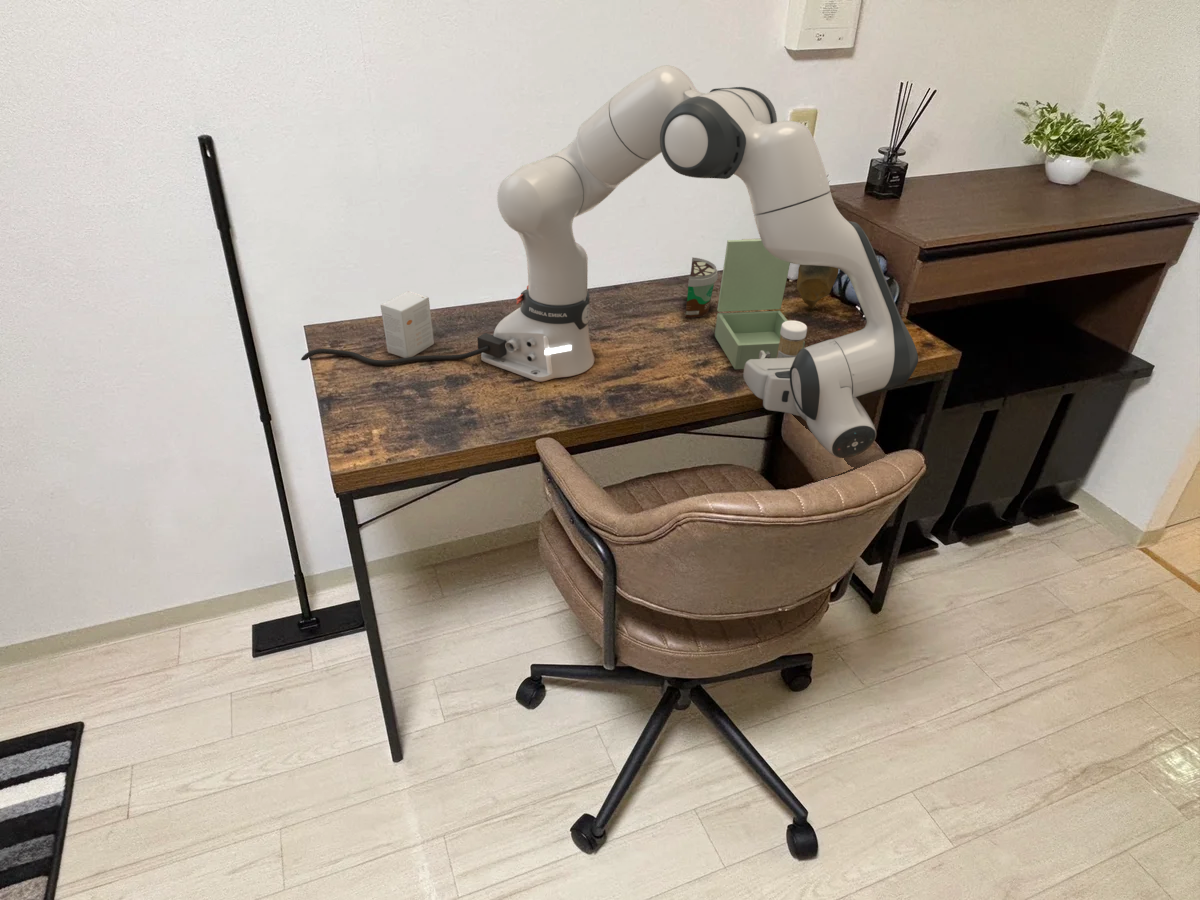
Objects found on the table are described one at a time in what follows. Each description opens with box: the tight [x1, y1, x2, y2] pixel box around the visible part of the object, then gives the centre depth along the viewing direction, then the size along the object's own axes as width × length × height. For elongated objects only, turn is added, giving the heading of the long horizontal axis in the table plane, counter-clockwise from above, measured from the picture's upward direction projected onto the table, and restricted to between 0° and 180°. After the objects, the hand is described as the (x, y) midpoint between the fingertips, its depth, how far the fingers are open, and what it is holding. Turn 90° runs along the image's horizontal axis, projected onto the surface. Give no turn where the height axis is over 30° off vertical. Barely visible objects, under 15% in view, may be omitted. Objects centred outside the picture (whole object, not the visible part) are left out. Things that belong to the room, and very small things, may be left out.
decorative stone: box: [796, 264, 840, 309], centre depth 172 cm, size 10×6×15 cm, turn 104°
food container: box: [684, 257, 719, 319], centre depth 171 cm, size 12×6×10 cm, turn 171°
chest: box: [714, 309, 806, 370], centre depth 157 cm, size 15×14×5 cm
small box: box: [380, 290, 435, 358], centre depth 152 cm, size 8×6×10 cm
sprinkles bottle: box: [777, 319, 808, 358], centre depth 142 cm, size 5×5×13 cm
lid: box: [717, 237, 791, 313], centre depth 158 cm, size 15×14×5 cm
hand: (787, 352), depth 141 cm, fingers open, 8 cm apart
